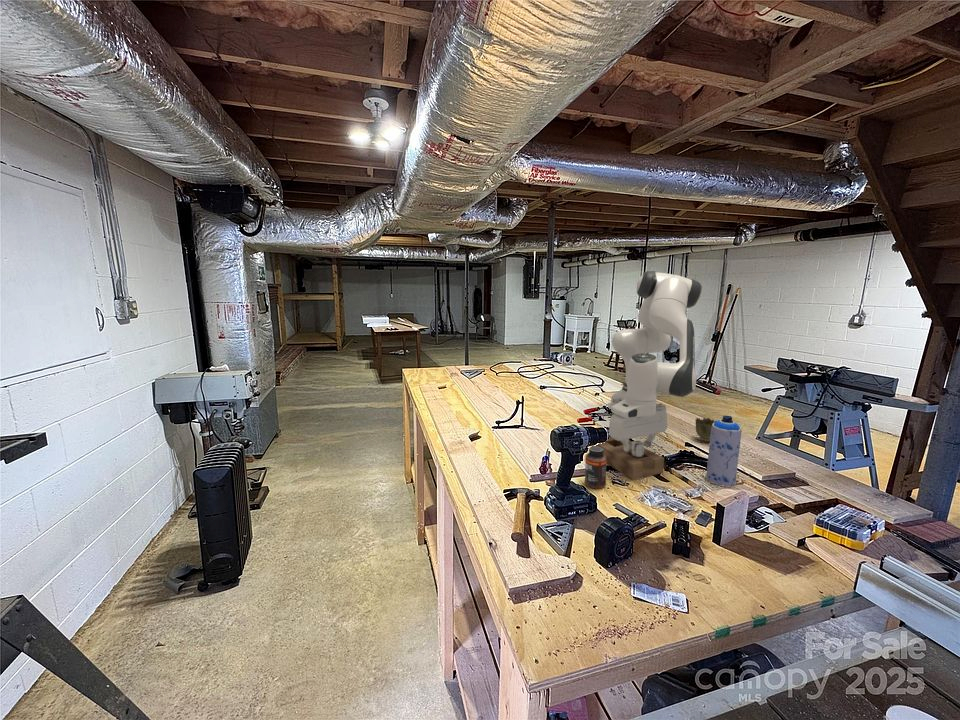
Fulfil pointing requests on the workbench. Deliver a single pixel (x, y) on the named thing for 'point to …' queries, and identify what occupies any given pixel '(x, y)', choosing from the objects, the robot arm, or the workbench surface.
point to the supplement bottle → (595, 468)
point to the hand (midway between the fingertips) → (637, 448)
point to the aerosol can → (723, 452)
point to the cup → (704, 428)
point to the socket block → (631, 460)
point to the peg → (637, 449)
